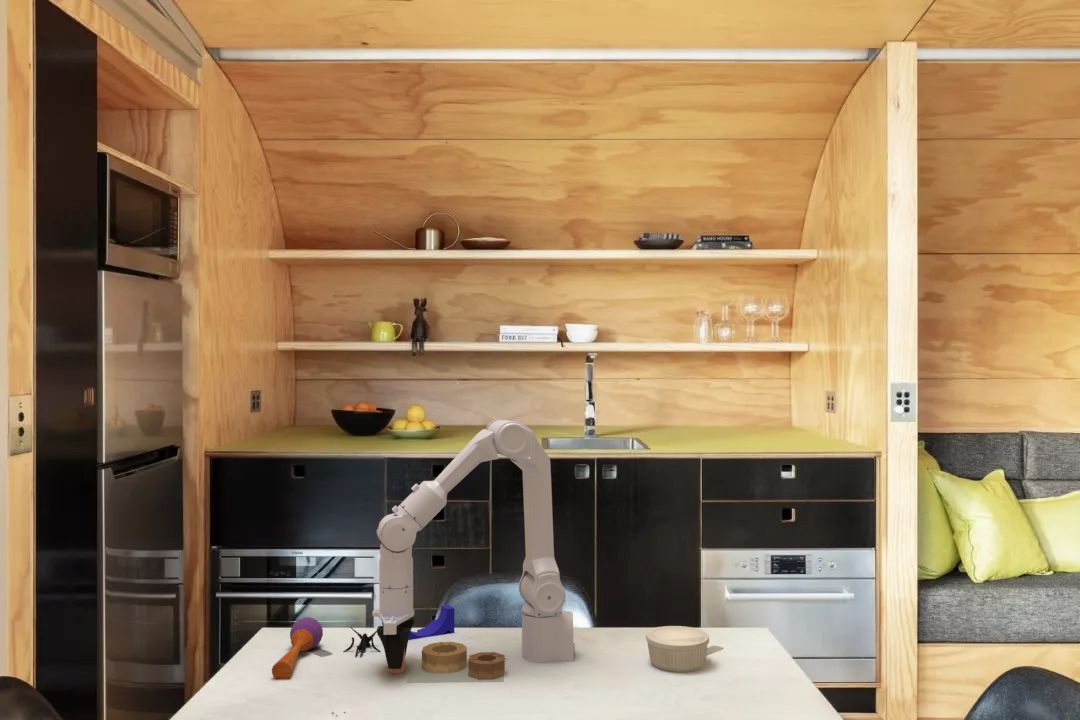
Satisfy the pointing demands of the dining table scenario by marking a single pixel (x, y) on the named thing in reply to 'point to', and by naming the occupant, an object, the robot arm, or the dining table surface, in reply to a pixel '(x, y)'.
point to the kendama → (298, 645)
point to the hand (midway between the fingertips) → (396, 665)
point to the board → (442, 675)
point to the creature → (363, 643)
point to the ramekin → (677, 648)
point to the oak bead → (444, 657)
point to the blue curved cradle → (437, 625)
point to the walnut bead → (486, 665)
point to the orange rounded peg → (398, 669)
